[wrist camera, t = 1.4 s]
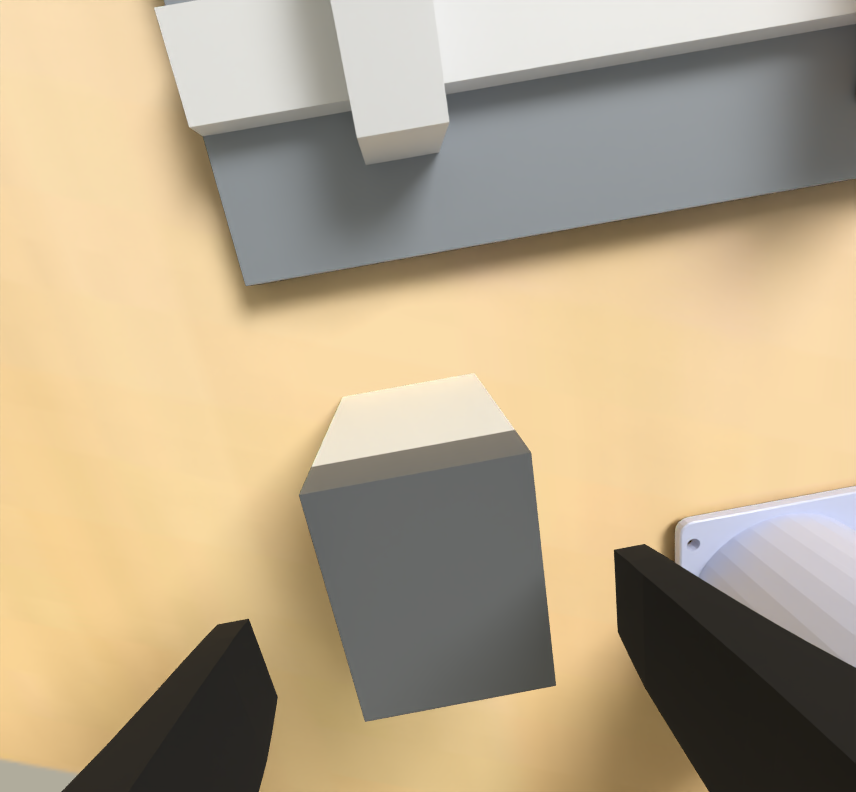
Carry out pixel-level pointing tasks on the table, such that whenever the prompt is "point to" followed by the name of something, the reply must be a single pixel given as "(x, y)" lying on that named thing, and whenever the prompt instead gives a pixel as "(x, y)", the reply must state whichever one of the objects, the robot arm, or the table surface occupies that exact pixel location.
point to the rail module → (430, 547)
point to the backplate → (500, 116)
